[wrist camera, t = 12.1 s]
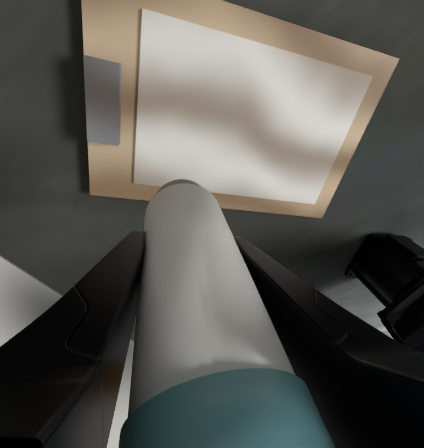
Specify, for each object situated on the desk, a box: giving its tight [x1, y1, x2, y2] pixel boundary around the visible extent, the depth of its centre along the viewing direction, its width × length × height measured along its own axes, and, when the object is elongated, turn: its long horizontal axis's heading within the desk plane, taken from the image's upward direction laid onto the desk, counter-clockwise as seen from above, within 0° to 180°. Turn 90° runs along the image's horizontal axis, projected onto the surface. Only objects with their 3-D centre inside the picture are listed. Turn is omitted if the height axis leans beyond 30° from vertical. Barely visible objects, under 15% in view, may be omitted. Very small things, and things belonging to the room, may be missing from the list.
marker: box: [119, 179, 336, 448], centre depth 7 cm, size 3×3×10 cm
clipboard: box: [81, 0, 399, 218], centre depth 19 cm, size 14×22×2 cm, turn 78°
